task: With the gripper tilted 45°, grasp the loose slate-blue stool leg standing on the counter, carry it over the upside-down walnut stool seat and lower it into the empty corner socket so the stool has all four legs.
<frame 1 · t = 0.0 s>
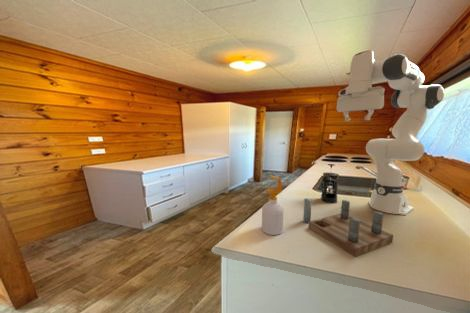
hand: (356, 120, 91), 48 cm above the worktop, tool pointing down, fingers open, 8 cm apart
stool: (347, 234, 83), on the worktop
soap bottle: (272, 230, 86), on the worktop
stool leg: (306, 221, 94), on the worktop
french press: (329, 200, 123), on the worktop
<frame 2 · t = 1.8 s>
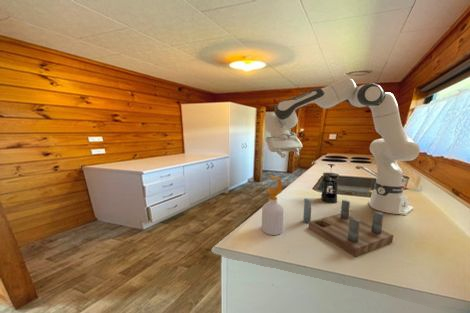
hand: (291, 156, 102), 30 cm above the worktop, tool tilted 45°, fingers open, 8 cm apart
nothing on the worktop moved.
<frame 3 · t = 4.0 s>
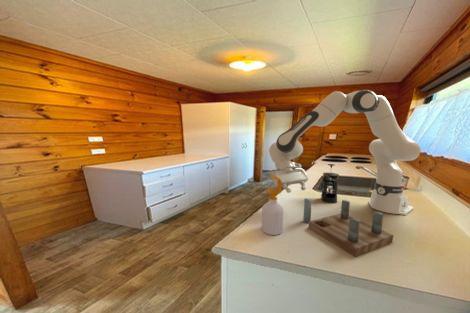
hand: (296, 190, 100), 13 cm above the worktop, tool tilted 45°, fingers open, 8 cm apart
nothing on the worktop moved.
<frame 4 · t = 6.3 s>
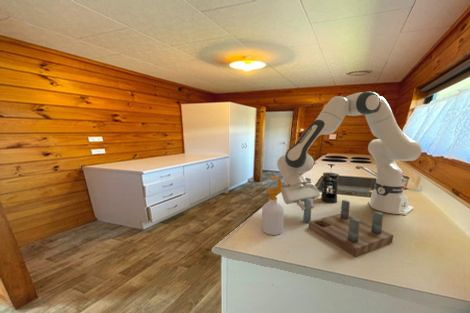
hand: (308, 208, 93), 7 cm above the worktop, tool tilted 45°, fingers closed on stool leg, 3 cm apart
stool leg: (306, 221, 94), on the worktop, touching gripper
everything else where it was.
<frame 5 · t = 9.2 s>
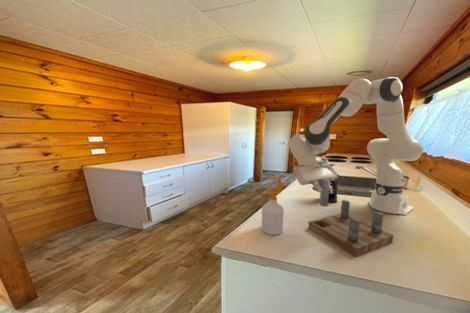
hand: (325, 190, 83), 18 cm above the worktop, tool tilted 45°, fingers closed on stool leg, 3 cm apart
stool leg: (323, 205, 85), point 12 cm above the worktop, touching gripper
everything else where it was.
when the fingers open (8 cm above the worktop, at t = 11.8 s): stool leg drops 1 cm, resting in stool.
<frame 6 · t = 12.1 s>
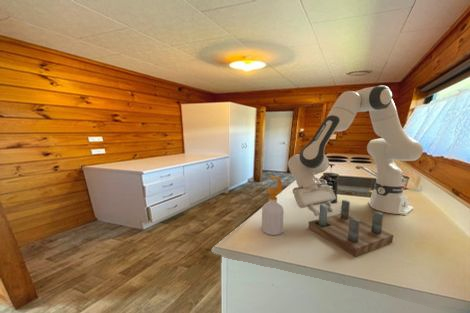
hand: (324, 213, 85), 8 cm above the worktop, tool tilted 45°, fingers open, 6 cm apart
stool leg: (322, 230, 86), resting in stool
everything else where it was.
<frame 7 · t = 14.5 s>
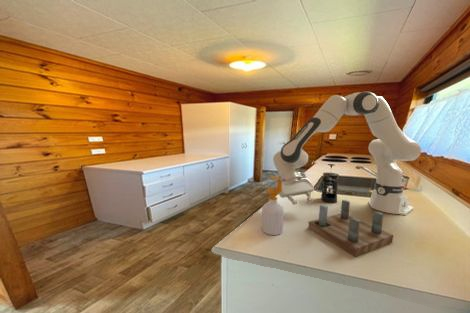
hand: (302, 202, 96), 8 cm above the worktop, tool tilted 45°, fingers open, 8 cm apart
nothing on the worktop moved.
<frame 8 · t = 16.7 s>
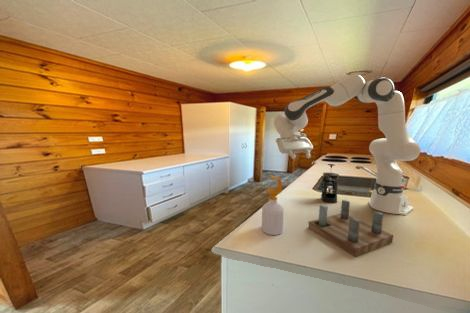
hand: (302, 158, 100), 29 cm above the worktop, tool tilted 45°, fingers open, 8 cm apart
nothing on the worktop moved.
at the end: stool leg 0.1 cm from the target spot on the stool, point 0.0 cm above the stool's base; stool leg tilted 0°; the gripper is holding nothing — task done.
